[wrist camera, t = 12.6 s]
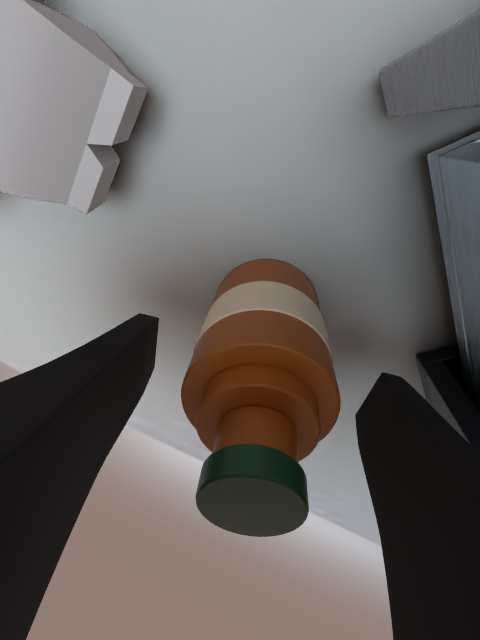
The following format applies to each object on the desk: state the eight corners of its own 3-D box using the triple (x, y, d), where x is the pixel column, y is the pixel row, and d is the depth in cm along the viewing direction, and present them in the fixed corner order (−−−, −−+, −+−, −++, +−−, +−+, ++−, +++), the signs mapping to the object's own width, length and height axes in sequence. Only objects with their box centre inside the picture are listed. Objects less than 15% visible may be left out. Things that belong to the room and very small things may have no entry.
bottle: (287, 236, 12) (300, 402, 5) (336, 324, 14) (401, 543, 6) (194, 289, 13) (96, 474, 6) (249, 361, 15) (222, 571, 8)
